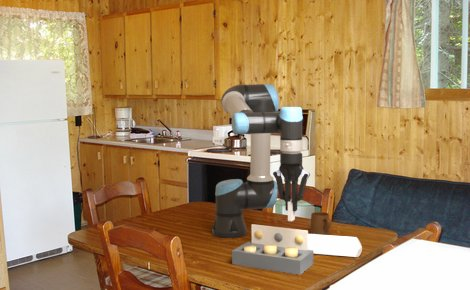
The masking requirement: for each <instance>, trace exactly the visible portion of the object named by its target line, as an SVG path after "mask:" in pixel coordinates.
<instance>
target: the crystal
mask: <svg viewBox="0 0 470 290" xmlns="http://www.w3.org/2000/svg"><path fill="white" fill-rule="evenodd" d="M362 246H363V245H362V243H361V242H360V240H359V238H358V237H357V236H345V235H344V236H343V235H342V236H341V235H331V234H330V235H318V234H311V233H308V250H313V255H314V254H315V255H324V256H325V255H328V256H336V257H338V256H339V257H340V256H341V257H350V258H353V257H354V258H358V257H360V255H361V254H362V251H363V247H362Z"/></svg>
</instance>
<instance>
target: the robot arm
mask: <svg viewBox="0 0 470 290" xmlns="http://www.w3.org/2000/svg"><path fill="white" fill-rule="evenodd" d="M220 103H221V107H222V109H223V110H224V111H225V112H226V113H228V114H229V115H230V116H231V129H232V132H233V133H234V134H235V135H250V165H249V166H250V174H249V175H248V176H247V177H246V182H244V181H243V180H242V179H239V178H235V179H234V178H233V179H226V180H222V181H219V182H218V183H217V184H216V186H215V193H214V195H215V219H214V222H213V225H212V228H211V232H212V233H211V235H213V236H214V237H217V238H222V239H223V238H224V239H225V238H226V239H231V238H241V237H244V236H246V235H247V233H248V229H247V225H246V222H245V219H244V215H243V213H244V212H243V210H256V209H257V210H258V209H262V210H265V209H271V208H273V207H274V206H275V205H276V203H277V199H278V195H279V200H283V201H284V202H285V204H284V205H285V206H284V207H285V209H284V210H285V211H286V212H287V221H288V222H294V221H295V220H296V212H297V211H298V202H300V201H302V200H303V198H304V195H305V190H306V188H307V187H306V186H307V182H308V179H309V177H310V176H311V174H310V173H309V172H306V171H305V170H304V167H303V153H302V151H303V119H304V117H303V109H302V107H300V106H282V107H281V108H280V101H279V95H278V92H277V89H276V87H275V86H274V85H273V84H267V83H264V84H263V83H260V84H259V83H258V84H255V83H253V84H235V85H233V86H230V87H229V88H228V89H226V90H225V91H224V93H223V94H222V95H221V100H220ZM279 108H280V110H279ZM272 134H279V142H280V143H279V144H280V145H279V149H280V150H279V151H280V153H279V156H280V157H279V168H278V170H276V171H273V172H272V174H273V176H272V174H271V135H272ZM282 176H283V178H282ZM300 177H301V180H300V184H299V178H300ZM274 178H275V180H274ZM283 179H284V180H283ZM298 185H299V186H298Z"/></svg>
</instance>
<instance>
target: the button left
mask: <svg viewBox="0 0 470 290" xmlns="http://www.w3.org/2000/svg"><path fill="white" fill-rule="evenodd" d="M244 251H247V252H256V246H252V245H248V246H244Z"/></svg>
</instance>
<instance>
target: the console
mask: <svg viewBox="0 0 470 290" xmlns="http://www.w3.org/2000/svg"><path fill="white" fill-rule="evenodd" d="M308 234H309V230H304V229H296V228H288V227H281V226H271V225H261V224H254V223H252V224H251V241H247V242H245V243H244V244H241V245H240V246H238V247H236V248H234V249H233V250H232V251H231V261H232V262H231V264H232V265H235V266H241V267H248V268H252V269H259V270H260V269H261V270H266V271H271V270H272V271H273V272H278V271H279V272H280V273H284V272H285V273H286V274H290V273H291V275H296V274H298V275H297V276H301V275H302V274H303V273H305V272H306V271H307V270H309V268H310V267H312V266H313V265H314V254H313V250H308ZM267 244H274V245H276V246H277V254H276V255H268V254H264V245H267ZM248 245H252V246H256V252H247V251H244V246H248ZM287 247H295V248H298V258H289V257H285V248H287ZM304 271H305V272H304ZM285 273H284V274H285Z"/></svg>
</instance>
